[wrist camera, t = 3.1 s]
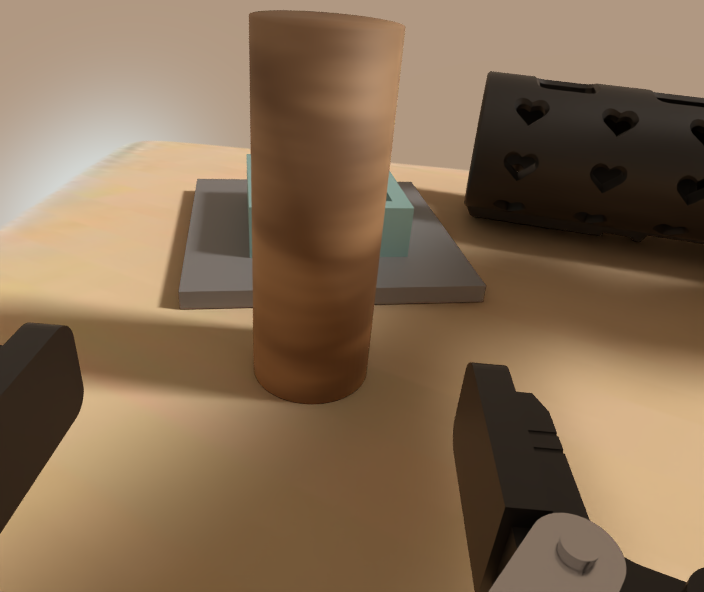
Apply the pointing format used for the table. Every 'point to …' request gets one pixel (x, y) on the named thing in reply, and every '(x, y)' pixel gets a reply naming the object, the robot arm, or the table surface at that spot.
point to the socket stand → (394, 263)
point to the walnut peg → (318, 194)
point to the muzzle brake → (589, 158)
